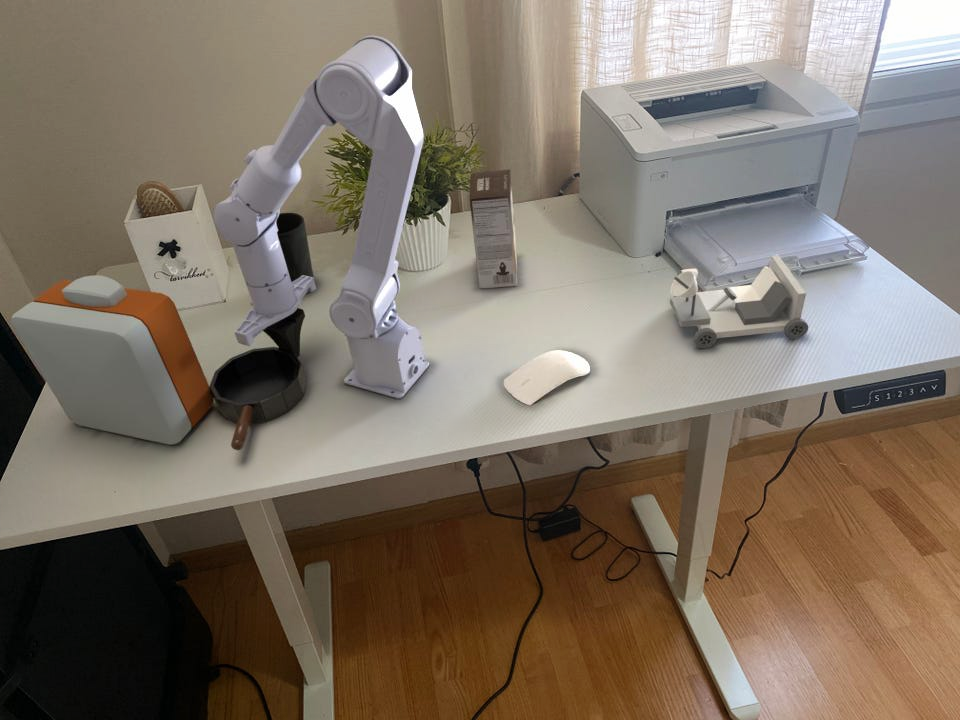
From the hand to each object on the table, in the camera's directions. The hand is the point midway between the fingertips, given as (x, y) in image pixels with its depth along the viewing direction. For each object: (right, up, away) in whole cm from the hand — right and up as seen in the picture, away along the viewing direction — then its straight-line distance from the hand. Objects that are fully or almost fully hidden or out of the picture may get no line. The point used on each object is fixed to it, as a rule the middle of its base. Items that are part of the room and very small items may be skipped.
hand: (292, 356), depth 106 cm
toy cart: (+62, +5, 0) cm, 63 cm away
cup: (-3, +11, +17) cm, 21 cm away
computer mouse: (+36, -3, -7) cm, 37 cm away
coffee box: (+30, +14, +15) cm, 36 cm away
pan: (-3, -8, -7) cm, 11 cm away
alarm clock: (-19, -8, -5) cm, 21 cm away
